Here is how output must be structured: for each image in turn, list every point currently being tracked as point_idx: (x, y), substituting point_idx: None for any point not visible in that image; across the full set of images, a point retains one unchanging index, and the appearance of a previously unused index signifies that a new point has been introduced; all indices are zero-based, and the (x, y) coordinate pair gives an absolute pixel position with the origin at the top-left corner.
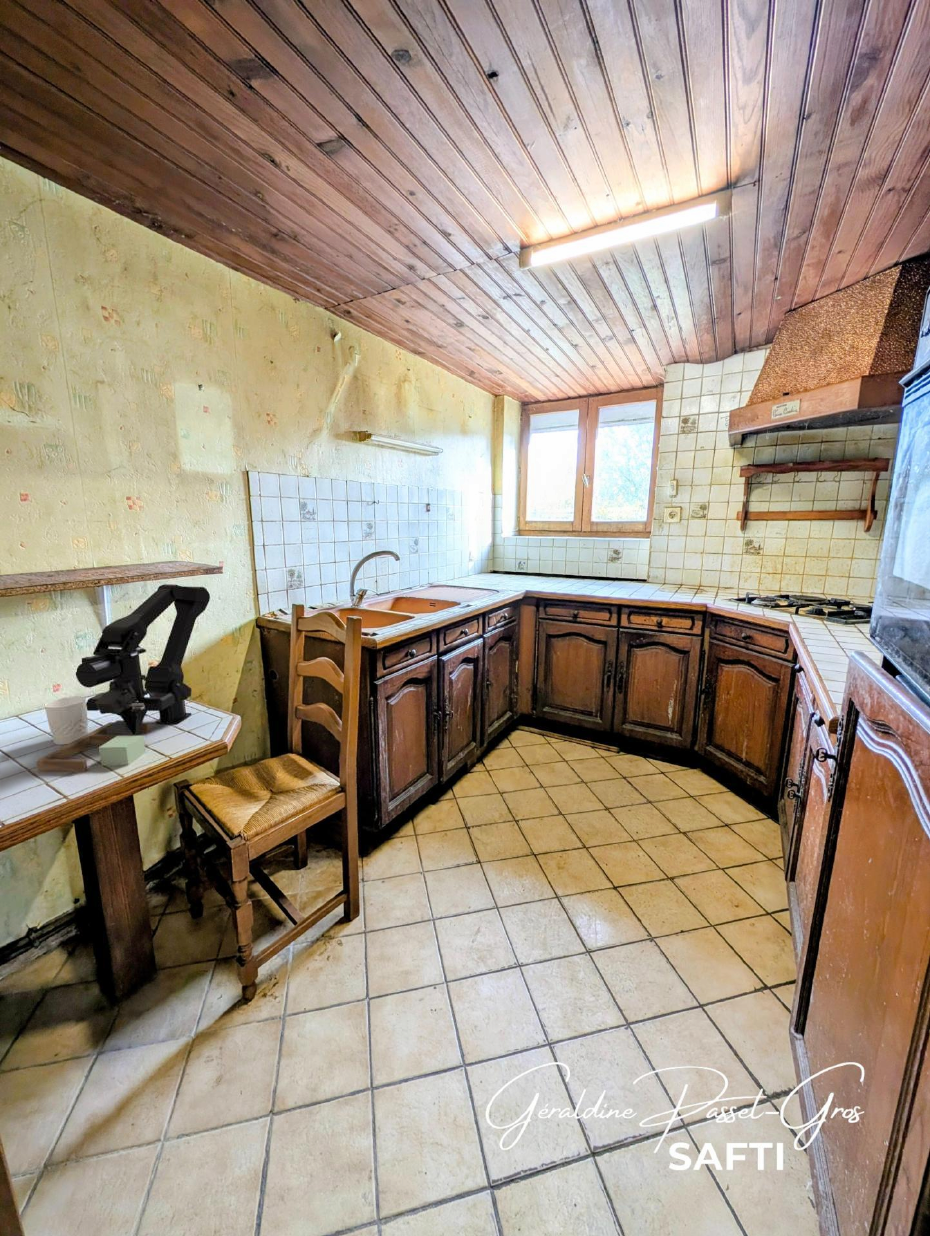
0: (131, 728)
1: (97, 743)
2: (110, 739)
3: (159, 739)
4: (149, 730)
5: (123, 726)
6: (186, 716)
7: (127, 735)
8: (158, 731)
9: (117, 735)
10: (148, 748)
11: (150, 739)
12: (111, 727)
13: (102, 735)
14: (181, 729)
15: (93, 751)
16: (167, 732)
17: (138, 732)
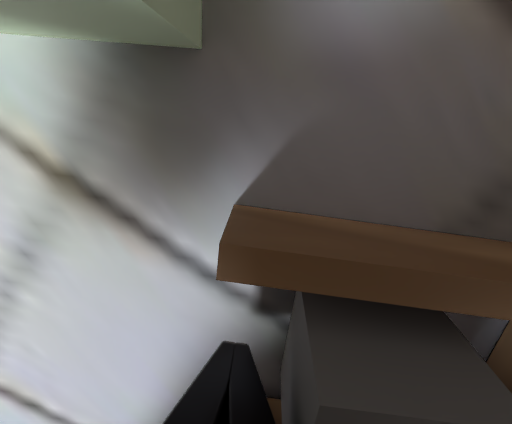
0: (238, 391)
1: (501, 247)
2: (389, 249)
3: (54, 285)
4: None
5: (311, 416)
6: None
7: (218, 272)
8: (156, 398)
9: (327, 279)
10: (7, 128)
11: (121, 293)
12: (459, 413)
13: (505, 300)
14: (28, 403)
15: (481, 117)
16: (85, 378)
17: (277, 400)
